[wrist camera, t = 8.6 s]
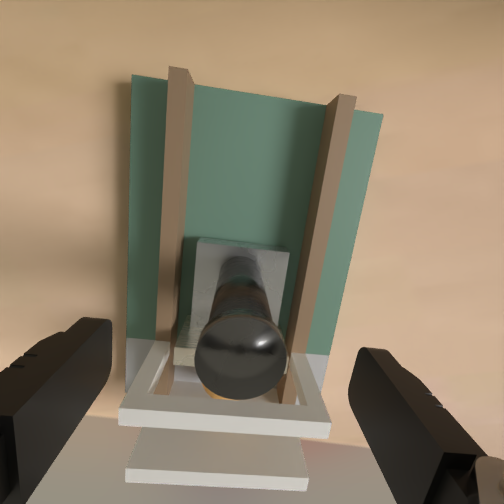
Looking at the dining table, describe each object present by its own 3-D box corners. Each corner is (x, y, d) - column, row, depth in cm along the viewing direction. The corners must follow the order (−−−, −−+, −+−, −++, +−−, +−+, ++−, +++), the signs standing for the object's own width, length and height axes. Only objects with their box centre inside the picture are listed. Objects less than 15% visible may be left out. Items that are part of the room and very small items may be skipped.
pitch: (140, 83, 18) (34, -24, 9) (372, 119, 19) (496, 59, 10) (132, 379, 23) (62, 507, 14) (313, 393, 24) (357, 519, 15)
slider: (193, 236, 19) (139, 297, 9) (292, 247, 19) (350, 318, 9) (186, 329, 20) (133, 471, 10) (277, 337, 21) (312, 481, 11)
